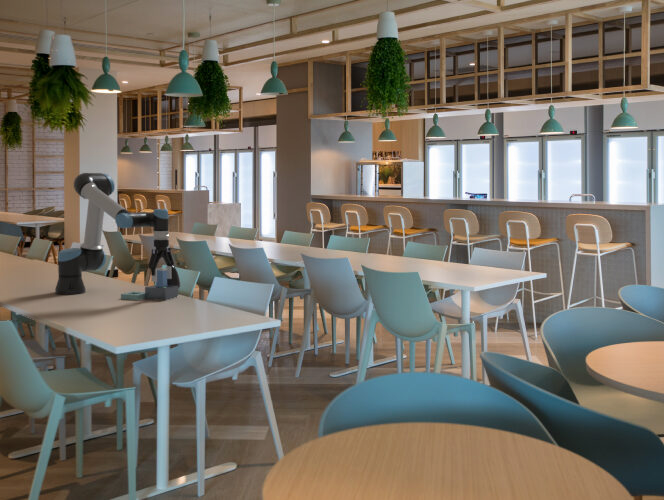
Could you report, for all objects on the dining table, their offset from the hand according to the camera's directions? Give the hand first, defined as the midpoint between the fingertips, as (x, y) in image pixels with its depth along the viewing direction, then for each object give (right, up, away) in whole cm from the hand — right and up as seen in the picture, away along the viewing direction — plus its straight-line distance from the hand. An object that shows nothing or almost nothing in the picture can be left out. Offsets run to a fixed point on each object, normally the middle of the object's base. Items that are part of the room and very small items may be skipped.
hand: (161, 280), depth 356 cm
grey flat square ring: (-13, -9, -1) cm, 16 cm away
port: (0, -9, +1) cm, 9 cm away
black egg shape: (+1, -8, +16) cm, 18 cm away
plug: (0, -8, +1) cm, 8 cm away
